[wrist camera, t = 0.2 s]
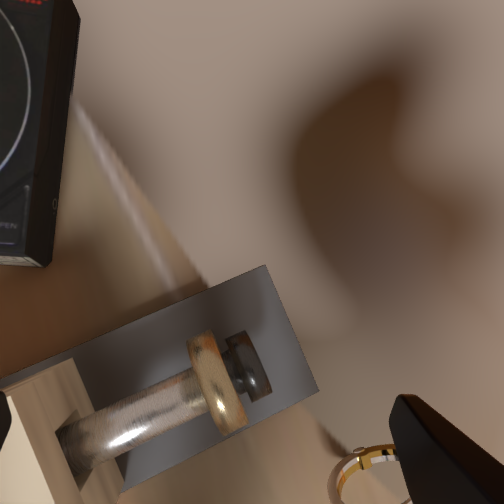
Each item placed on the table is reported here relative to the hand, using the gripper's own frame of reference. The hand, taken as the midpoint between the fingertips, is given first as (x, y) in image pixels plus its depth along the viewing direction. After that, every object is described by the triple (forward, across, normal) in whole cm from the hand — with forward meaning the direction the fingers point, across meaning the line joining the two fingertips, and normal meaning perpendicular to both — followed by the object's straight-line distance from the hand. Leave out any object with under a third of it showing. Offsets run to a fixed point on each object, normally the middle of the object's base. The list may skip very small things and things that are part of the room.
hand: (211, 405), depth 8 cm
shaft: (+10, +3, +10) cm, 14 cm away
